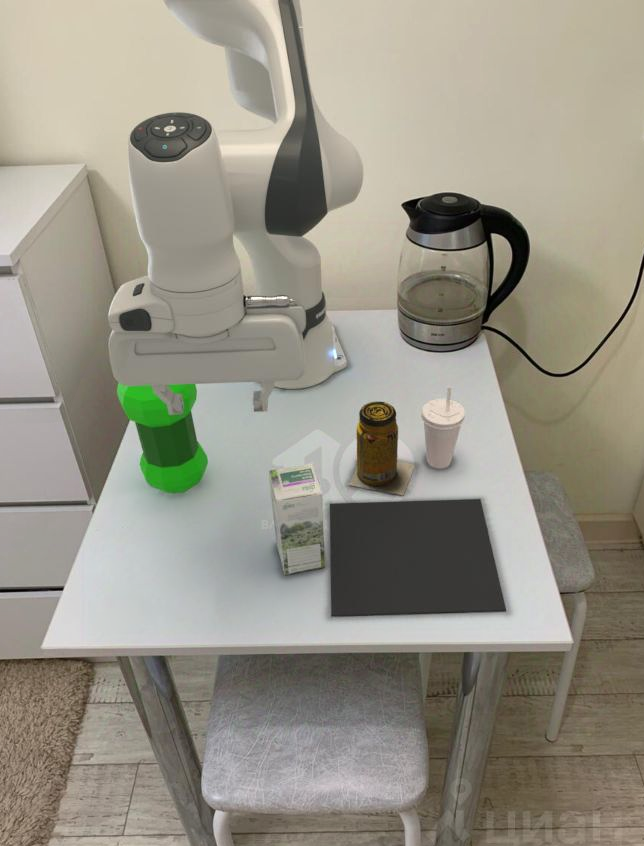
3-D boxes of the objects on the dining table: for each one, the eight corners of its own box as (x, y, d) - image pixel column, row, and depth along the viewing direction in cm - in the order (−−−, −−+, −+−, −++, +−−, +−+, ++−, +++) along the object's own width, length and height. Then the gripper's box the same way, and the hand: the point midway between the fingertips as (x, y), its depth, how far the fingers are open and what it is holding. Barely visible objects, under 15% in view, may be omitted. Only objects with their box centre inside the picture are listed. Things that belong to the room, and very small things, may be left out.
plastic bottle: (187, 513, 105) (153, 369, 88) (130, 491, 109) (86, 349, 92) (225, 471, 112) (201, 329, 95) (170, 452, 115) (136, 312, 98)
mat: (329, 504, 106) (329, 503, 106) (480, 500, 106) (480, 498, 106) (331, 616, 91) (331, 615, 91) (505, 611, 91) (506, 609, 91)
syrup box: (317, 537, 101) (312, 459, 91) (326, 569, 97) (322, 491, 87) (276, 545, 100) (267, 467, 90) (284, 578, 96) (275, 499, 86)
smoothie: (457, 476, 110) (466, 402, 100) (415, 471, 111) (420, 397, 101) (461, 449, 114) (470, 376, 105) (420, 445, 115) (425, 371, 106)
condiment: (362, 455, 114) (362, 393, 106) (414, 465, 112) (418, 402, 104) (348, 485, 109) (346, 423, 101) (403, 497, 107) (406, 433, 98)
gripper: (304, 279, 74) (312, 390, 83) (105, 286, 74) (134, 396, 83) (303, 310, 69) (311, 424, 79) (90, 317, 69) (123, 430, 79)
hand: (219, 410), depth 81 cm, fingers open, 8 cm apart
